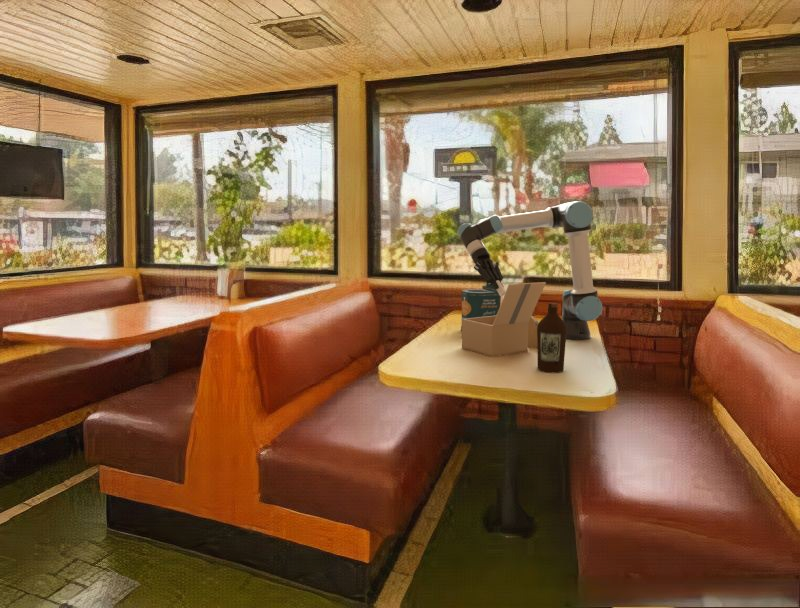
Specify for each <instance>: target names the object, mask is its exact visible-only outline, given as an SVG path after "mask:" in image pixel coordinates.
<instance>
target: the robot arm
mask: <svg viewBox="0 0 800 608" xmlns="http://www.w3.org/2000/svg"><path fill="white" fill-rule="evenodd" d="M593 218H594V213H593V209H592V207H591V206H590V204H588V203H587V202H585V201H580V200H574V201H570V202H565V203H562V204H559V205H555V206H549V207H547V208H546V209H545V210H537V211H531V212H524V213H516V214H515V213H514V214H510V215H502V216H499V215H498V214H493V215H490V216H489V217H488V218H487V217H486V218H480V219H478V220H477V221H476V222H475V224H472V223H470V222H465V223H462V224H460V226H459V227H458V228H457V235H458V237H459V238H460V241H461V242H462V244H463V245H464V247H465V249H466V251H467V252H468V254H469V256H470V257H471V259H472V261H473V263H474V265H473V269H474V270H475V271H476V272H477V273H478V274H479V275H480V276H481V277H482V278H483V280H484V281H485V282H487V283H491V284H490V285H493V286H494V288H495V289H496V290H497V292H498V293H499V295H500V297H504V295H505V293H506V289H505V288H504V285H503V283H502V281H503V279H504V278H503V273H502V272H501V270H500V269H501V268H500V264H499V262H494V261H493V259H491V257H490V255H491V254H490V253H489V251H488V249H487V247H486V246H485V244H484V243H483V241H482V240H484V239H486V238H488V237H490V236H492V235H495V234H501V233H507V232H515V231H522V230H528V229H535V228H543V227H549V228H550V229H553V228H563V234H564V235H566V236H567V238H568V239H567V240H568V249H569V250H568V251H569V257H570V258H569V259H570V267H571V276H572V286H573V288H572V289H565V290H564V291H563V293H562V307H561V308H562V311H561V312H562V314H561V315H562V316H561V319H562V320H563V321H564V322H565V324H566V327H567V335H566V340H568V339H569V340H588V339H590V338H591V330H590V327H589V324H588V322H591V321H594V320H596V319H598V318H599V316H600V315H602V312H603V303H602V301H601V300H600V298H599V293H598V289H597V288H596V287H594V281H593V271H592V270H593V269H592V262H591V252H590V251H591V250H590V243H589V242H590V241H589V233H590V232H591V230H592V228H591V223H592V221H593Z"/></svg>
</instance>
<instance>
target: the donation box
mask: <svg viewBox="0 0 800 608" xmlns="http://www.w3.org/2000/svg"><path fill="white" fill-rule="evenodd" d="M485 282H486V281H485ZM490 284H491V283H487V282H486V284H484V285H481V286H482V287H481V288H480V289H479V288H476V289H475V288H474V289H473V288H472V289H464V290H463V289H462V290H461V291H460V292H461V295H460V296H461V320H462V319H467V318H477V317H487V316H496V315H497V313H498V310H499V308H500V298H501V296H500V295H499V293H498V292H497V290H496V289H495V288H494V286H493V285H490ZM460 331H461V332H462V325H461V326H460Z"/></svg>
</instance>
